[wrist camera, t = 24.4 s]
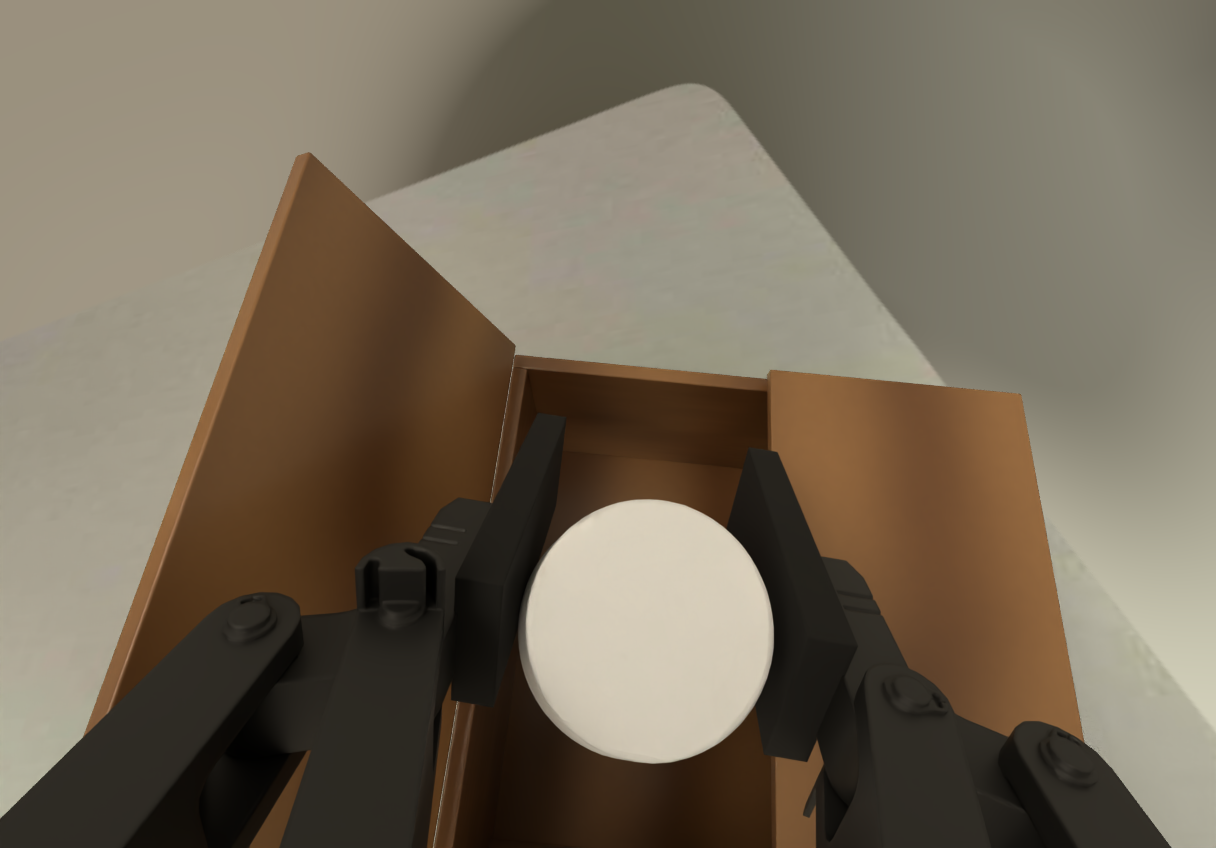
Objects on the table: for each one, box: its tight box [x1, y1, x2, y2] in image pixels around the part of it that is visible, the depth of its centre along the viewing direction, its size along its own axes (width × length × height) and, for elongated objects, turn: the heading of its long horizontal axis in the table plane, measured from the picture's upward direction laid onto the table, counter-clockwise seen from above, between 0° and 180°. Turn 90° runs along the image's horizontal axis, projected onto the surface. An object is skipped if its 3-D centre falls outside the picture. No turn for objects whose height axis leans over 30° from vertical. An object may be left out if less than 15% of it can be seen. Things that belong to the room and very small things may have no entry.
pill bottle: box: [518, 499, 774, 764], centre depth 13 cm, size 5×5×8 cm
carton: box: [434, 355, 1084, 848], centre depth 21 cm, size 17×17×10 cm
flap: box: [83, 152, 516, 848], centre depth 12 cm, size 8×17×1 cm
